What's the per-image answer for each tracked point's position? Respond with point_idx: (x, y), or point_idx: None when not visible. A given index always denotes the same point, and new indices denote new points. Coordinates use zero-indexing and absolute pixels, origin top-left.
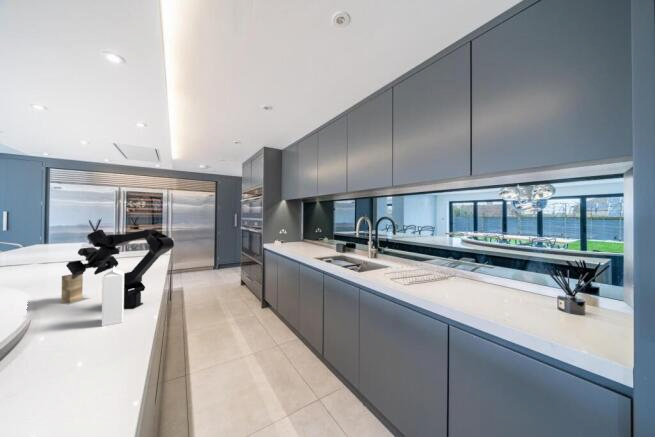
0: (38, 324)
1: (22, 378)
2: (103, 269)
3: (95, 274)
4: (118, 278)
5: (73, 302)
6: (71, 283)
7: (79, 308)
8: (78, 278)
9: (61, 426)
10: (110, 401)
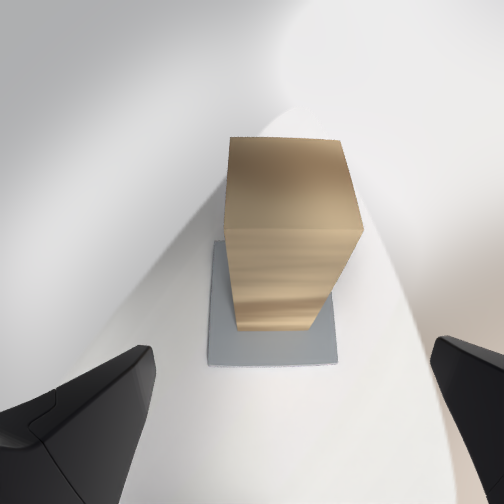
0: None
1: None
2: (497, 484)
3: (432, 367)
4: None
5: (244, 350)
6: (241, 274)
7: (183, 478)
8: (309, 255)
9: None
10: None
